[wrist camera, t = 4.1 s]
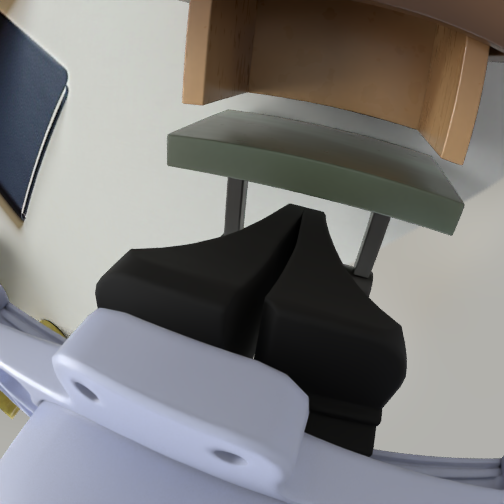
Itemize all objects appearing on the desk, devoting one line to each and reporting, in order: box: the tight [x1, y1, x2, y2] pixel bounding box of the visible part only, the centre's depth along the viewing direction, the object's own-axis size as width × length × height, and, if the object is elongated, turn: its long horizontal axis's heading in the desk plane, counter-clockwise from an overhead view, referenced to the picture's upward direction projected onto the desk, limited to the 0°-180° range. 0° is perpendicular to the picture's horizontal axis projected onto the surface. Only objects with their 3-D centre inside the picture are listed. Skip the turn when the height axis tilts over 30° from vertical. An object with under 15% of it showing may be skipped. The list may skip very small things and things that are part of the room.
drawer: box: [167, 0, 490, 297], centre depth 10 cm, size 14×10×6 cm
